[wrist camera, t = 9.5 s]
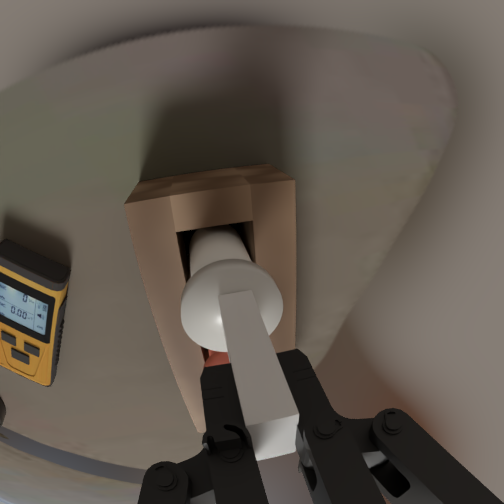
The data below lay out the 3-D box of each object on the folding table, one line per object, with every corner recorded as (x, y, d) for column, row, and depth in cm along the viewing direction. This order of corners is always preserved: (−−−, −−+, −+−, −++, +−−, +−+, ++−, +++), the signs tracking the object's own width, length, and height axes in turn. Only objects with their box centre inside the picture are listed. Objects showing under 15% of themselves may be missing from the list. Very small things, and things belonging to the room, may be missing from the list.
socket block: (193, 390, 32) (198, 432, 27) (139, 181, 21) (124, 204, 16) (277, 375, 33) (292, 414, 28) (268, 163, 23) (295, 179, 17)
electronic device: (1, 346, 25) (-9, 364, 22) (4, 234, 20) (-14, 250, 17) (59, 373, 28) (52, 394, 25) (77, 268, 23) (65, 289, 20)
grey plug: (186, 283, 21) (191, 358, 14) (174, 219, 19) (170, 279, 12) (252, 272, 22) (283, 341, 15) (247, 208, 20) (282, 261, 13)
